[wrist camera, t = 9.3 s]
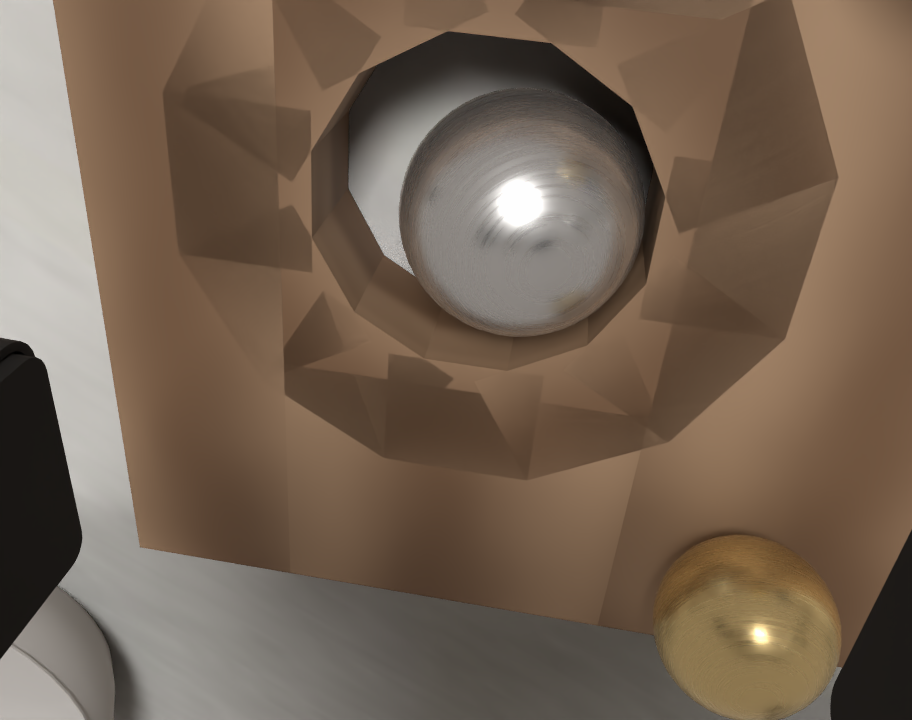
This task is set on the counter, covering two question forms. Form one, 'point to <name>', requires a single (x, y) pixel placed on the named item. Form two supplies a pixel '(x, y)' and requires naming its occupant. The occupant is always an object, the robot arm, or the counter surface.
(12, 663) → the saucepan
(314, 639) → the counter surface
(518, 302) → the steel ball
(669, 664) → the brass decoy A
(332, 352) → the board
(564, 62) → the counter surface
